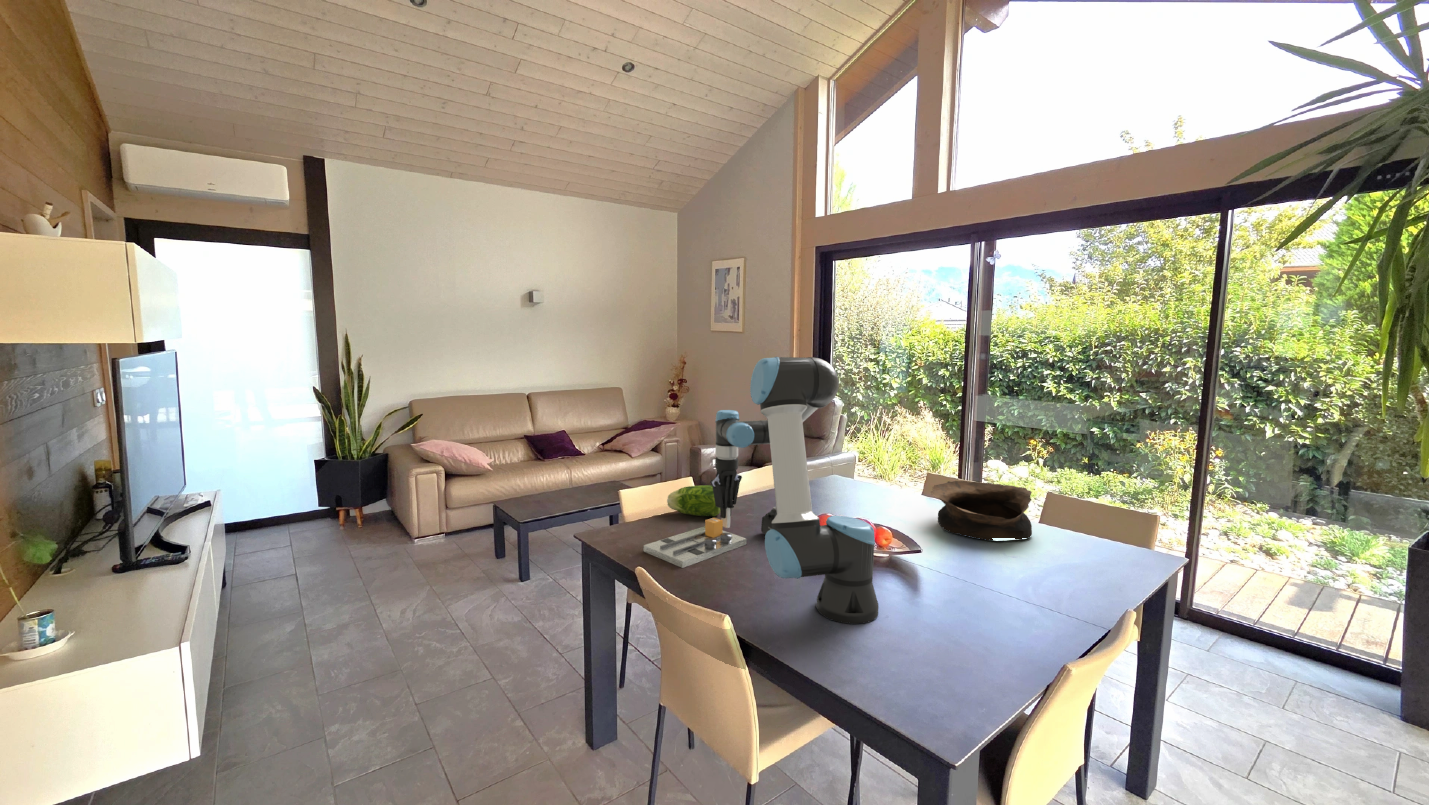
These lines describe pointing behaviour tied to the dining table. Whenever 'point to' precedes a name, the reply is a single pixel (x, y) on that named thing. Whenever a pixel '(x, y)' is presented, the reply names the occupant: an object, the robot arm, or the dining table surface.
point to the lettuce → (694, 501)
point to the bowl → (984, 509)
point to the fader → (713, 527)
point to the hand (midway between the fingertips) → (725, 526)
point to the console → (693, 546)
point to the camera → (768, 520)
